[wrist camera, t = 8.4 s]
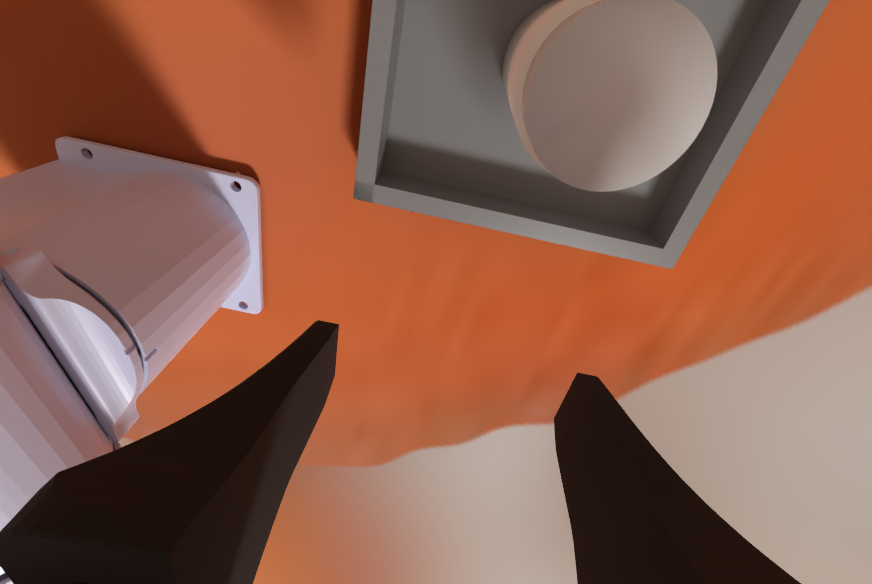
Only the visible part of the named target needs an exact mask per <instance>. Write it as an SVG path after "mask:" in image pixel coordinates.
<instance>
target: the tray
mask: <svg viewBox="0 0 872 584" xmlns="http://www.w3.org/2000/svg"><path fill="white" fill-rule="evenodd" d="M552 1H556V0H373V1H372V12H371V22H370V32H369V43H368V53H367V63H366V74H365V84H364V95H363V105H362V115H361V126H360V136H359V146H358V157H357V167H356V178H355V188H354V199H358V200H363V201H367V202H372V203H376V204H381V205H385V206H390V207H394V208H399V209H403V210H408V211H412V212H417V213H422V214H426V215H431V216H435V217H440V218H444V219H449V220H453V221H458V222H462V223H467V224H471V225H476V226H480V227H485V228H489V229H494V230H498V231H503V232H507V233H512V234H516V235H521V236H525V237H530V238H534V239H539V240H543V241H548V242H552V243H557V244H561V245H566V246H570V247H575V248H579V249H584V250H588V251H593V252H598V253H602V254H607V255H611V256H616V257H620V258H625V259H629V260H634V261H638V262H643V263H647V264H652V265H656V266H661V267H665V268H670V269H673V267H674V265H675V264H676V262H677V260H678V258H679V257H680V255H681V253H682V252H683V250H684V248H685V246H686V245H687V243H688V241H689V240H690V238H691V236H692V234H693V233H694V231H695V229H696V228H697V226H698V224H699V223H700V221H701V219H702V217H703V216H704V214H705V212H706V211H707V209H708V207H709V205H710V204H711V202H712V200H713V199H714V197H715V195H716V193H717V192H718V190H719V188H720V187H721V185H722V183H723V181H724V180H725V178H726V176H727V175H728V173H729V171H730V170H731V168H732V166H733V164H734V163H735V161H736V159H737V158H738V156H739V154H740V152H741V151H742V149H743V147H744V146H745V144H746V142H747V140H748V139H749V137H750V135H751V134H752V132H753V130H754V129H755V127H756V125H757V123H758V122H759V120H760V118H761V117H762V115H763V113H764V111H765V110H766V108H767V106H768V105H769V103H770V101H771V99H772V98H773V96H774V94H775V93H776V91H777V89H778V87H779V86H780V84H781V82H782V81H783V79H784V77H785V76H786V74H787V72H788V70H789V69H790V67H791V65H792V64H793V62H794V60H795V58H796V57H797V55H798V53H799V52H800V50H801V48H802V46H803V45H804V43H805V41H806V40H807V38H808V36H809V34H810V33H811V31H812V29H813V28H814V26H815V24H816V23H817V21H818V19H819V17H820V16H821V14H822V12H823V11H824V9H825V7H826V5H827V4H828V2H829V0H673V1H675V2H677V3H679V4H681V5H682V6H684V7H686V8H687V9H688V10H690V11H691V12H692V13H693V14H694V15H695V16H696V17H697V18H698V19H699V20H700V22H701V23H702V24H703V25H704V27H705V28H706V30H707V32H708V34H709V36H710V38H711V40H712V43H713V46H714V49H715V54H716V60H717V85H716V92H715V96H714V100H713V104H712V107H711V110H710V112H709V115H708V117H707V119H706V121H705V123H704V125H703V127H702V129H701V131H700V132H699V134H698V135H697V137H696V139H695V140H694V141H693V143H692V144H691V145H690V146H689V148H688V149H687V150H686V151H685V152H684V153H683V154H682V155H681V156H680V157H679V158H678V159H677V160H676V161H675V162H674V163H673V164H672V165H670V166H669V167H668V168H667V169H665V170H664V171H662V172H661V173H659V174H658V175H656V176H655V177H653V178H651V179H649V180H647V181H645V182H643V183H641V184H638V185H636V186H633V187H629V188H626V189H622V190H616V191H607V192H596V191H587V190H582V189H579V188H576V187H573V186H570V185H568V184H566V183H564V182H562V181H561V180H559V179H558V178H556V177H555V176H553V175H552V174H550V173H549V172H547V171H546V170H545V169H543V168H542V167H541V166H540V165H539V164H537V163H536V162H535V161H534V160H533V158H532V157H531V156H530V155H529V153H528V152H527V150H526V148H525V147H524V145H523V143H522V141H521V139H520V136H519V134H518V131H517V128H516V125H515V122H514V118H513V115H512V112H511V109H510V106H509V103H508V100H507V97H506V94H505V90H504V86H503V80H502V66H503V59H504V55H505V51H506V48H507V45H508V43H509V41H510V39H511V37H512V35H513V33H514V32H515V30H516V29H517V27H518V26H519V25H520V24H521V22H522V21H523V20H524V19H525V18H526V17H527V16H528V15H529V14H531V13H532V12H533V11H535V10H536V9H538V8H539V7H541V6H543V5H545V4H547V3H549V2H552Z"/></svg>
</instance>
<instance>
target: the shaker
mask: <svg viewBox="0 0 872 584" xmlns="http://www.w3.org/2000/svg"><path fill="white" fill-rule="evenodd" d="M502 80H503V86H504V90H505V94H506V97H507V100H508V103H509V106H510V109H511V112H512V115H513V118H514V122H515V125H516V128H517V131H518V134H519V136H520V139H521V141H522V143H523V145H524V147H525V148H526V150H527V152H528V153H529V155H530V156H531V157H532V158H533V160H534V161H535V162H536V163H537V164H539V165H540V166H541V167H542V168H543V169H545V170H546V171H547V172H549V173H550V174H552V175H553V176H555V177H556V178H558V179H559V180H561V181H562V182H564V183H566V184H568V185H570V186H573V187H576V188H579V189H582V190H587V191H596V192H607V191H616V190H622V189H626V188H629V187H633V186H636V185H638V184H641V183H643V182H645V181H647V180H649V179H651V178H653V177H655V176H656V175H658V174H659V173H661V172H662V171H664V170H665V169H667V168H668V167H669V166H670V165H672V164H673V163H674V162H675V161H676V160H677V159H678V158H679V157H680V156H681V155H682V154H683V153H684V152H685V151H686V150H687V149H688V148H689V146H690V145H691V144H692V143H693V141H694V140H695V139H696V137H697V135H698V134H699V132H700V131H701V129H702V127H703V125H704V123H705V121H706V119H707V117H708V115H709V112H710V110H711V107H712V104H713V100H714V96H715V92H716V85H717V60H716V54H715V49H714V46H713V43H712V40H711V38H710V36H709V34H708V32H707V30H706V28H705V27H704V25H703V24H702V23H701V22H700V20H699V19H698V18H697V17H696V16H695V15H694V14H693V13H692V12H691V11H690V10H688V9H687V8H686V7H684V6H682V5H681V4H679V3H677V2H675V1H673V0H556V1H552V2H549V3H547V4H545V5H543V6H541V7H539V8H538V9H536V10H535V11H533V12H532V13H531V14H529V15H528V16H527V17H526V18H525V19H524V20H523V21H522V22H521V24H520V25H519V26H518V27H517V29H516V30H515V32H514V33H513V35H512V37H511V39H510V41H509V43H508V45H507V48H506V51H505V55H504V59H503V66H502Z"/></svg>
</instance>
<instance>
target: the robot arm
mask: <svg viewBox="0 0 872 584" xmlns="http://www.w3.org/2000/svg"><path fill="white" fill-rule="evenodd" d="M55 147H56V150H57V154H58V157H59V159H58V160H55V161H52V162H49V163H46V164H43V165H40V166H37V167H33V168H30V169H27V170H24V171H21V172H18V173H15V174H12V175H9V176H6V177H2V178H0V584H253V581H254V578H255V575H256V572H257V569H258V566H259V563H260V560H261V557H262V554H263V551H264V549H265V546H266V543H267V540H268V537H269V534H270V532H271V529H272V526H273V523H274V520H275V518H276V515H277V512H278V509H279V507H280V503H281V501H282V498H283V496H284V493H285V490H286V487H287V485H288V482H289V480H290V478H291V476H292V473H293V471H294V469H295V467H296V465H297V463H298V461H299V458H300V456H301V454H302V452H303V450H304V448H305V446H306V444H307V442H308V439H309V437H310V435H311V433H312V431H313V429H314V427H315V425H316V423H317V420H318V418H319V416H320V414H321V412H322V410H323V408H324V405H325V402H326V400H327V397H328V394H329V391H330V388H331V385H332V382H333V379H334V376H335V366H336V353H337V341H338V329H339V324H334V323H329V322H324V321H319V320H318V321H316V322H315V323H313V324H312V325H311V326H310V327H309V328H308V329H307V330H306V331H305V332H304V333H303V334H302V335H301V336H299V337H298V338H297V339H296V340H295V341H294V342H293V343H292V344H290V345H289V346H288V347H287V348H286V349H285V350H283V351H282V352H281V353H280V354H278V355H277V356H276V357H275V358H274V359H272V360H271V361H270V362H269V363H267V364H266V365H265V366H264V367H262V368H261V369H259V370H258V371H257V372H255V373H254V374H253V375H251V376H250V377H249V378H247V379H246V380H244V381H243V382H242V383H240V384H239V385H237V386H236V387H234V388H233V389H231V390H230V391H228V392H227V393H225V394H224V395H222V396H220V397H219V398H217V399H216V400H214V401H212V402H211V403H209V404H207V405H206V406H204V407H202V408H200V409H199V410H197V411H195V412H193V413H192V414H190V415H188V416H186V417H184V418H183V419H181V420H179V421H177V422H175V423H173V424H171V425H169V426H167V427H165V428H163V429H161V430H159V431H157V432H155V433H152V434H150V435H148V436H146V437H144V438H142V439H140V440H138V441H135V442H133V443H131V444H129V445H126V446H124V447H121V446H120V444H119V443H118V441H119V440H120V439H121V438H122V437H123V436H124V435H125V433H126V432H127V431H128V430H129V429H130V428H131V427H132V425H133V424H134V423H135V422H136V421H137V420H138V418H139V417H140V416H139V414H138V411H137V409H136V400H137V397H138V396H139V395H140V394H141V393H142V392H143V391H144V390H145V388H146V387H147V386H148V385H149V384H150V383H151V382H152V381H153V380H154V379H155V377H156V376H157V375H158V374H159V373H160V372H161V371H162V370H163V369H164V368H165V367H166V365H167V364H168V363H169V362H170V361H171V360H172V359H173V358H174V357H175V356H176V354H177V353H178V352H179V351H180V350H181V349H182V348H183V347H184V346H185V345H186V344H187V342H188V341H189V340H190V339H191V338H192V337H193V336H194V335H195V334H196V333H197V332H198V330H199V329H200V328H201V327H202V326H203V325H204V324H205V323H206V322H207V321H208V319H209V318H210V317H211V316H212V315H213V314H214V313H215V312H216V311H217V310H218V309H219V307H223V308H228V309H232V310H237V311H242V312H247V313H251V314H257V313H259V312H260V311H261V310H262V309H263V273H262V240H261V207H260V187H259V184H258V182H257V181H256V180H255V179H254V178H252V177H249V176H245V175H240V174H236V173H231V172H227V171H222V170H218V169H213V168H209V167H204V166H200V165H195V164H191V163H186V162H182V161H177V160H173V159H168V158H164V157H159V156H155V155H150V154H146V153H141V152H137V151H132V150H128V149H123V148H119V147H114V146H110V145H105V144H101V143H96V142H91V141H87V140H82V139H78V138H73V137H69V136H64V137H60V138H58V139H56V141H55ZM88 149H89V150H90V151H91V153H92V155H93V156H91V155H90V154H89V152H88ZM234 181H236V182H238V183H239V184H240V185H241V189H239V188H237V187H236V186H235V184H234ZM242 302H245V303H246V304H247V305H245V304H244V303H242ZM554 426H555V442H556V452H557V458H558V463H559V468H560V473H561V479H562V483H563V488H564V493H565V498H566V503H567V508H568V513H569V518H570V523H571V529H572V534H573V541H574V550H575V560H576V570H577V580H578V584H801V583H799V582H798V581H797V580H795V579H794V578H793V577H792V576H790V575H789V574H788V573H786V572H785V571H784V570H783V569H781V568H780V567H779V566H778V565H776V564H775V563H774V562H773V561H771V560H770V559H769V558H768V557H766V556H765V555H764V554H763V553H761V552H760V551H759V550H758V549H757V548H755V547H754V546H753V545H752V544H751V543H749V542H748V541H747V540H746V539H745V538H743V537H742V536H741V535H740V534H739V533H738V532H737V531H736V530H735V529H733V528H732V527H731V526H730V525H729V524H728V523H727V522H726V521H724V520H723V519H722V518H721V517H720V516H719V515H718V514H717V513H716V512H715V511H714V510H712V509H711V508H710V507H709V506H708V505H707V504H706V503H705V502H704V501H703V500H702V499H701V498H700V497H699V496H698V495H697V494H696V493H695V492H694V491H693V490H692V489H691V488H690V487H689V486H688V485H687V484H686V483H685V482H684V481H683V480H682V479H681V478H680V477H679V475H678V474H677V473H676V472H675V471H674V470H673V469H672V468H671V467H670V466H669V465H668V464H667V462H666V461H665V460H664V459H663V458H662V457H661V455H660V454H659V453H658V452H657V451H656V450H655V449H654V447H653V446H652V445H651V444H650V443H649V441H648V440H647V439H646V438H645V437H644V435H643V434H642V433H641V432H640V430H639V429H638V428H637V427H636V425H635V424H634V423H633V422H632V421H631V419H630V418H629V417H628V415H627V414H626V413H625V411H624V410H623V409H622V408H621V406H620V405H619V404H618V402H617V401H616V400H615V398H614V397H613V396H612V394H611V393H610V392H609V391H608V389H607V388H606V387H605V385H604V384H603V383H602V382H601V381H600V379H599V378H598V377H596V376H591V375H586V374H581V373H577V375H576V377H575V379H574V380H573V382H572V384H571V386H570V388H569V390H568V392H567V394H566V396H565V398H564V400H563V402H562V404H561V406H560V408H559V410H558V412H557V414H556V416H555V418H554Z"/></svg>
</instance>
